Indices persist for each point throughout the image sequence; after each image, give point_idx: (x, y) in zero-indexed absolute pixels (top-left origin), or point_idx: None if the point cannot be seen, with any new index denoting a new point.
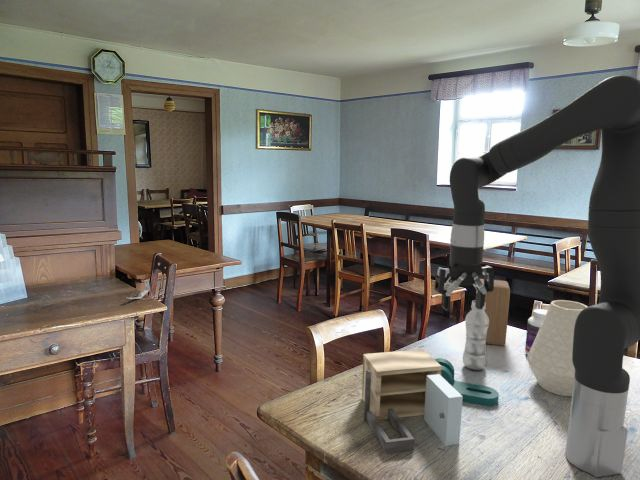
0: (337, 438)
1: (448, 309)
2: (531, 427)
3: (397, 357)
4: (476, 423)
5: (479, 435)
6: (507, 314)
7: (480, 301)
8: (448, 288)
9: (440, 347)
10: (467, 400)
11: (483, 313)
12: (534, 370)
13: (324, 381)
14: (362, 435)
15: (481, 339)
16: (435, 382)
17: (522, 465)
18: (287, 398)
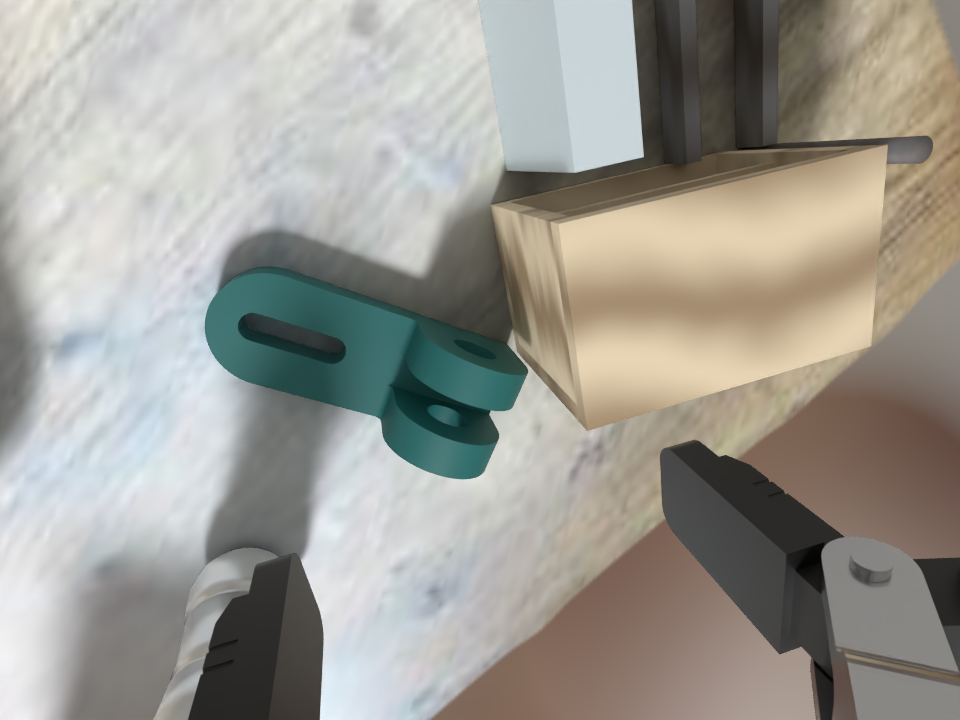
0: (863, 33)
1: (687, 445)
2: (111, 89)
3: (741, 319)
4: (358, 126)
5: (371, 30)
6: None
7: (280, 628)
8: (941, 651)
9: (348, 707)
10: (352, 294)
11: None
12: None
13: (804, 400)
14: (786, 49)
15: (199, 664)
16: (627, 64)
17: None
18: (930, 284)
